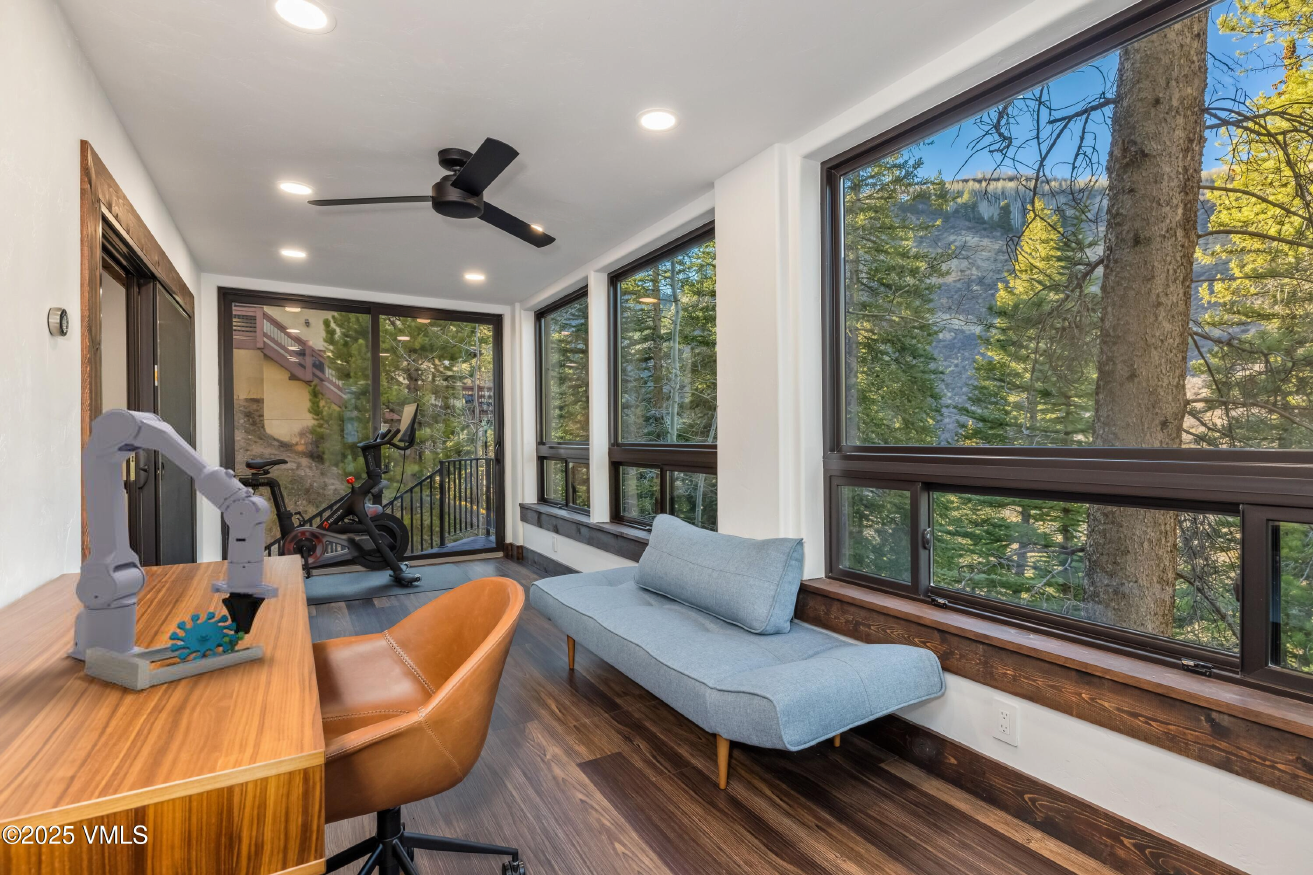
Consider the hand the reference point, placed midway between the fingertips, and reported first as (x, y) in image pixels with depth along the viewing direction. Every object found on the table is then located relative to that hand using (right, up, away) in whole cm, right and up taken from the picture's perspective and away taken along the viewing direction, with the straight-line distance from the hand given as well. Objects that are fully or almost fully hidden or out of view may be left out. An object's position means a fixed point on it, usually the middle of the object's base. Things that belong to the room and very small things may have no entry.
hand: (242, 634), depth 119 cm
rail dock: (-5, -2, -9) cm, 11 cm away
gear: (-3, -3, -5) cm, 7 cm away
